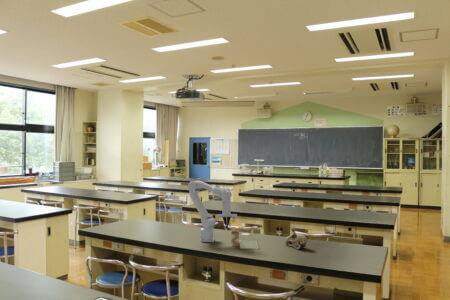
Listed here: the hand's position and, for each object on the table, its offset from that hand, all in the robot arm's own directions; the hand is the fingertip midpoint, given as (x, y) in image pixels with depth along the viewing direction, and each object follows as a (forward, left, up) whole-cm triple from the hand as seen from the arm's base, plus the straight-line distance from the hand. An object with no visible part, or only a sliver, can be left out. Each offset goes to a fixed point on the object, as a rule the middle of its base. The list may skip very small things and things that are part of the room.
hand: (226, 228), depth 239 cm
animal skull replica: (+46, -8, -11) cm, 48 cm away
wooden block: (+6, -3, -11) cm, 12 cm away
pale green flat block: (+15, -3, -10) cm, 19 cm away
